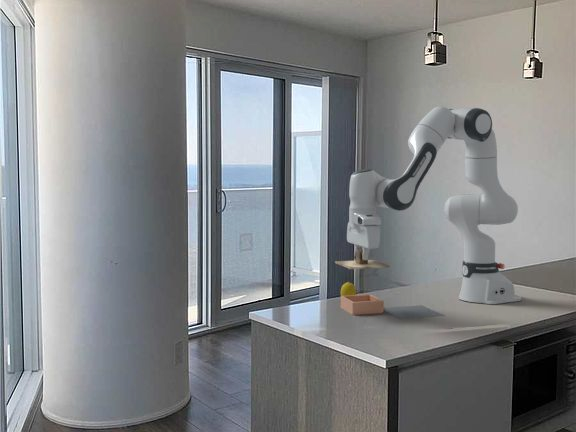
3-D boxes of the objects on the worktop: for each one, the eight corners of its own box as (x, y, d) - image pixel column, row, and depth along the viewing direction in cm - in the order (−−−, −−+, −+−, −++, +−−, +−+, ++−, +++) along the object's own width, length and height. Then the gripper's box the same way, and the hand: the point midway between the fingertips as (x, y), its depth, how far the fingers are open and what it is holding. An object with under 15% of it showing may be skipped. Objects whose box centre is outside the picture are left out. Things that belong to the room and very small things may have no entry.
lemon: (355, 305, 223) (355, 283, 222) (339, 304, 224) (339, 282, 223) (356, 302, 228) (356, 280, 228) (341, 301, 229) (341, 280, 229)
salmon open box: (370, 308, 218) (370, 294, 218) (383, 315, 208) (383, 300, 207) (340, 310, 215) (340, 296, 215) (352, 317, 205) (352, 302, 204)
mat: (421, 308, 219) (421, 305, 219) (445, 318, 203) (445, 315, 203) (379, 310, 214) (379, 308, 214) (400, 322, 199) (400, 318, 199)
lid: (372, 261, 219) (372, 248, 218) (390, 267, 205) (390, 253, 205) (335, 263, 215) (335, 249, 215) (350, 269, 201) (350, 255, 201)
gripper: (342, 215, 218) (342, 255, 219) (365, 220, 198) (365, 263, 199) (359, 215, 220) (359, 254, 221) (383, 220, 200) (383, 262, 201)
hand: (362, 259), depth 210 cm, fingers closed on lid, 3 cm apart
